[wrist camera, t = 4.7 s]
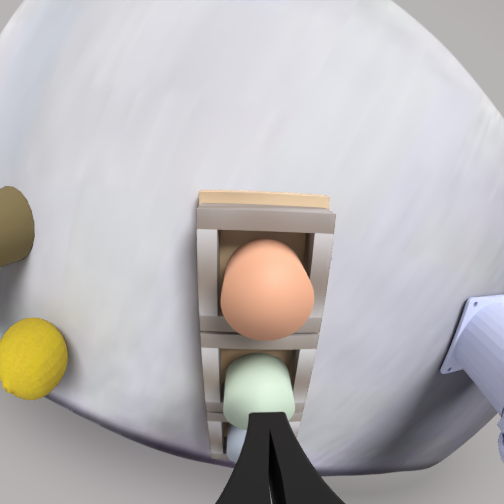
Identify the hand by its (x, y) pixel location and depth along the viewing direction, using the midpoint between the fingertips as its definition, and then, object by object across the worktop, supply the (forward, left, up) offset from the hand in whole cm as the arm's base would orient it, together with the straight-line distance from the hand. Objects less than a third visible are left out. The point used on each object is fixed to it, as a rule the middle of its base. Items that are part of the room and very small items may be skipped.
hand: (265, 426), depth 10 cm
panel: (0, +3, -9) cm, 10 cm away
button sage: (0, +3, -7) cm, 7 cm away
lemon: (+16, +3, -10) cm, 19 cm away
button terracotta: (0, -4, -7) cm, 8 cm away
